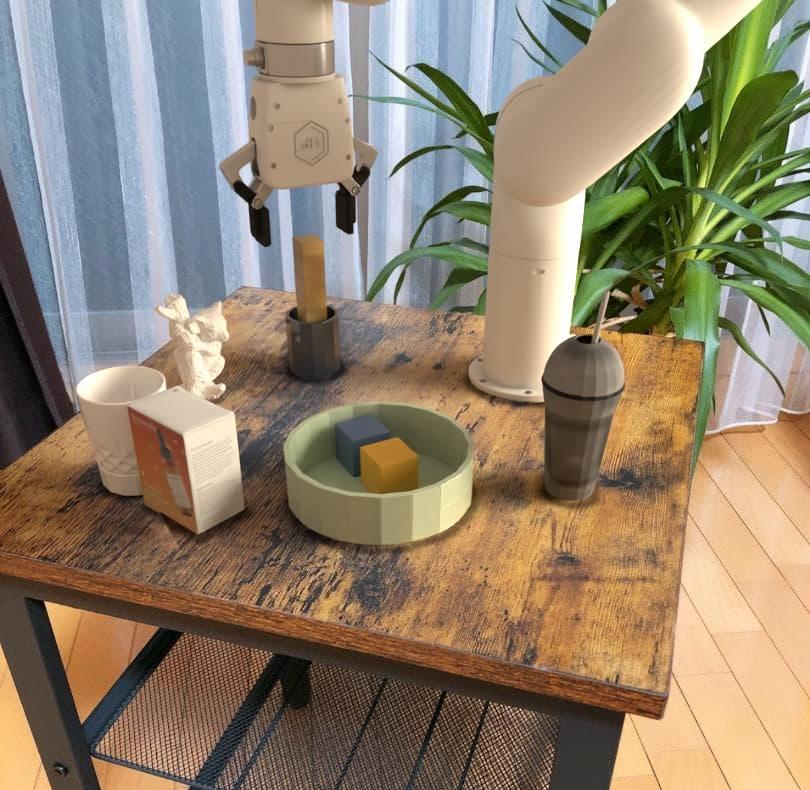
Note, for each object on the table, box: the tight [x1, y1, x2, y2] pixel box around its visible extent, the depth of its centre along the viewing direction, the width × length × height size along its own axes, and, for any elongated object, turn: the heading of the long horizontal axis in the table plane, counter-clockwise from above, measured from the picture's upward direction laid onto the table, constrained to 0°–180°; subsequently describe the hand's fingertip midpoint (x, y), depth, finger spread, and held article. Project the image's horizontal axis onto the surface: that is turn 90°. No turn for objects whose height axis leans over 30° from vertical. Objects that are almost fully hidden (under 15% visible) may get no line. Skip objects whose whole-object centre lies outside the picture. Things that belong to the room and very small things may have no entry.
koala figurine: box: [154, 292, 230, 400], centre depth 99 cm, size 8×7×12 cm
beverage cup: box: [541, 289, 626, 502], centre depth 80 cm, size 7×7×20 cm
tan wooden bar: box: [291, 233, 328, 323], centre depth 103 cm, size 3×3×15 cm
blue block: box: [335, 414, 390, 477], centre depth 88 cm, size 4×4×4 cm
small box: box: [127, 385, 245, 535], centre depth 81 cm, size 8×6×10 cm
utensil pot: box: [285, 304, 342, 378], centre depth 106 cm, size 6×6×7 cm
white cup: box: [74, 365, 167, 497], centre depth 85 cm, size 8×8×10 cm
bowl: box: [282, 400, 476, 546], centre depth 84 cm, size 17×17×6 cm
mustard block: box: [360, 437, 418, 494], centre depth 85 cm, size 4×4×4 cm
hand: (304, 237), depth 99 cm, fingers open, 9 cm apart
